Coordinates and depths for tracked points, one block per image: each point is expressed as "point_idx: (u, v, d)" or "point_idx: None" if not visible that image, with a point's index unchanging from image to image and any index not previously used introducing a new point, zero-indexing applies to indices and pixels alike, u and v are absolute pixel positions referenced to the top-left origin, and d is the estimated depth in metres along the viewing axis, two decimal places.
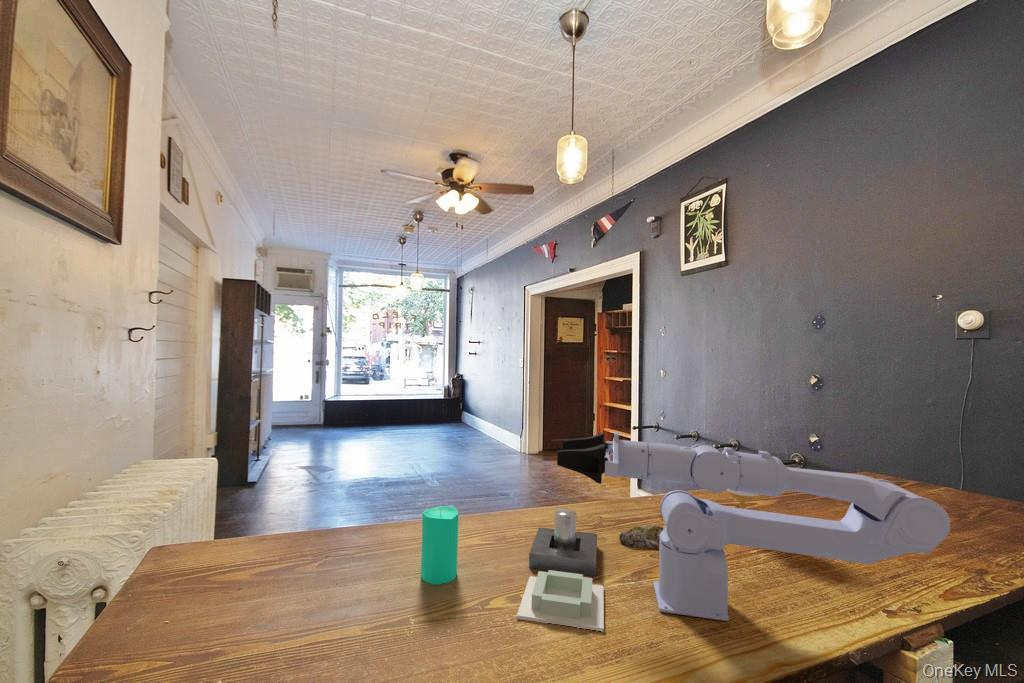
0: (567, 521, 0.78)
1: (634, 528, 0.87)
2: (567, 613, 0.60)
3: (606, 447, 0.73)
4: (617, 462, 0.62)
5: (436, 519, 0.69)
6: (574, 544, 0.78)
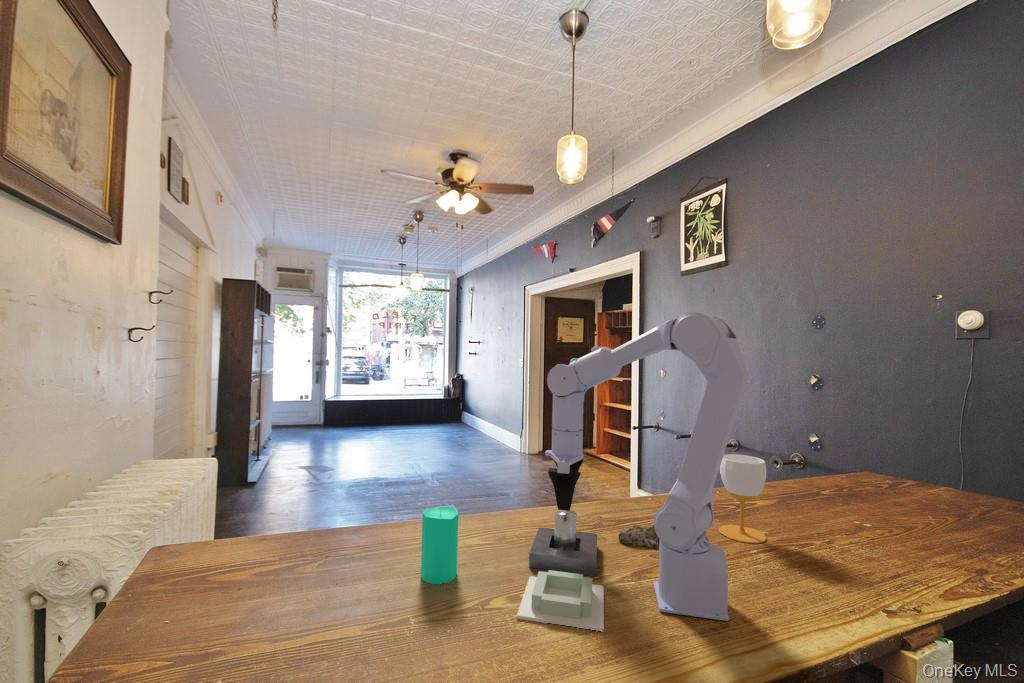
0: (567, 521, 0.78)
1: (633, 527, 0.88)
2: (567, 613, 0.60)
3: None
4: (557, 461, 0.74)
5: (436, 519, 0.69)
6: (574, 544, 0.78)
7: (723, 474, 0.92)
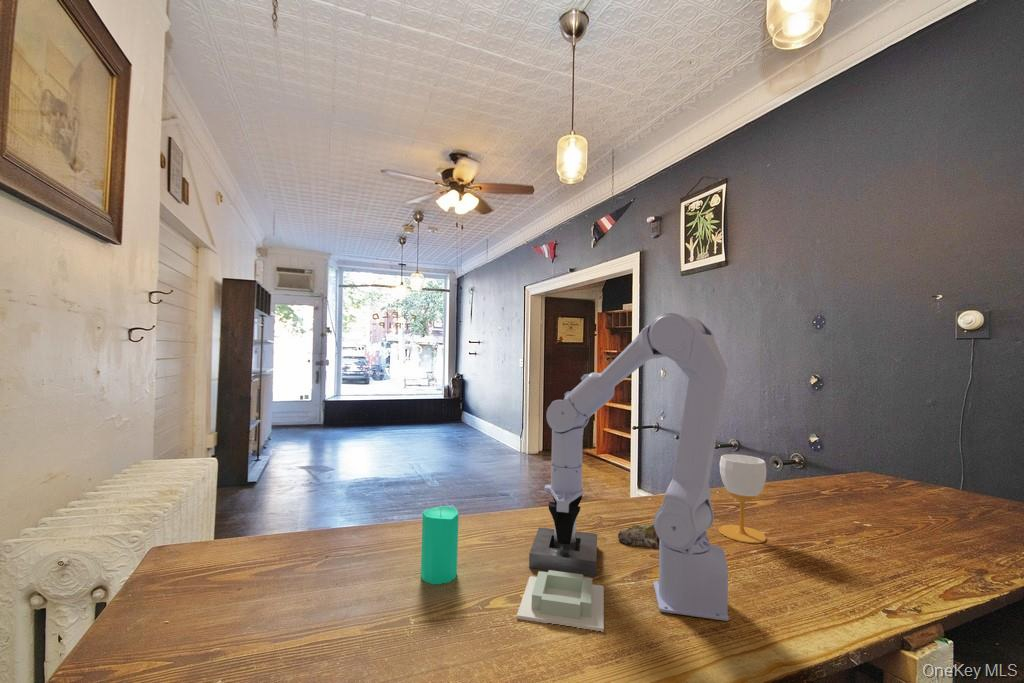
0: None
1: (633, 527, 0.88)
2: (567, 613, 0.60)
3: None
4: (557, 500, 0.73)
5: (436, 519, 0.69)
6: (574, 544, 0.78)
7: (723, 474, 0.92)
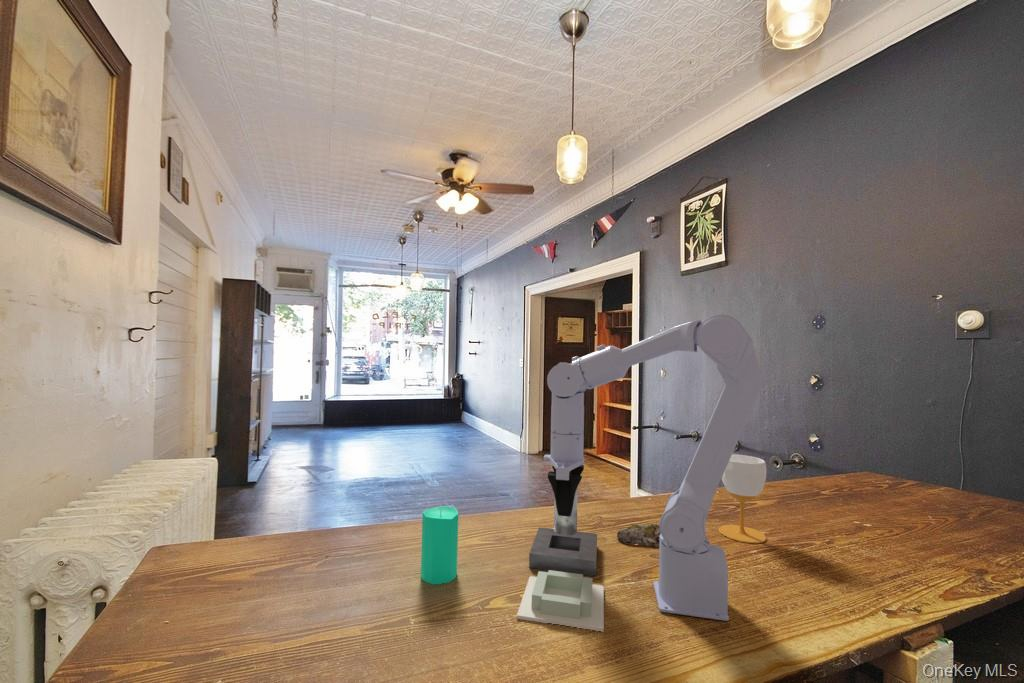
0: None
1: (632, 526, 0.88)
2: (567, 613, 0.60)
3: None
4: (556, 467, 0.68)
5: (436, 519, 0.69)
6: (575, 516, 0.73)
7: (723, 474, 0.92)
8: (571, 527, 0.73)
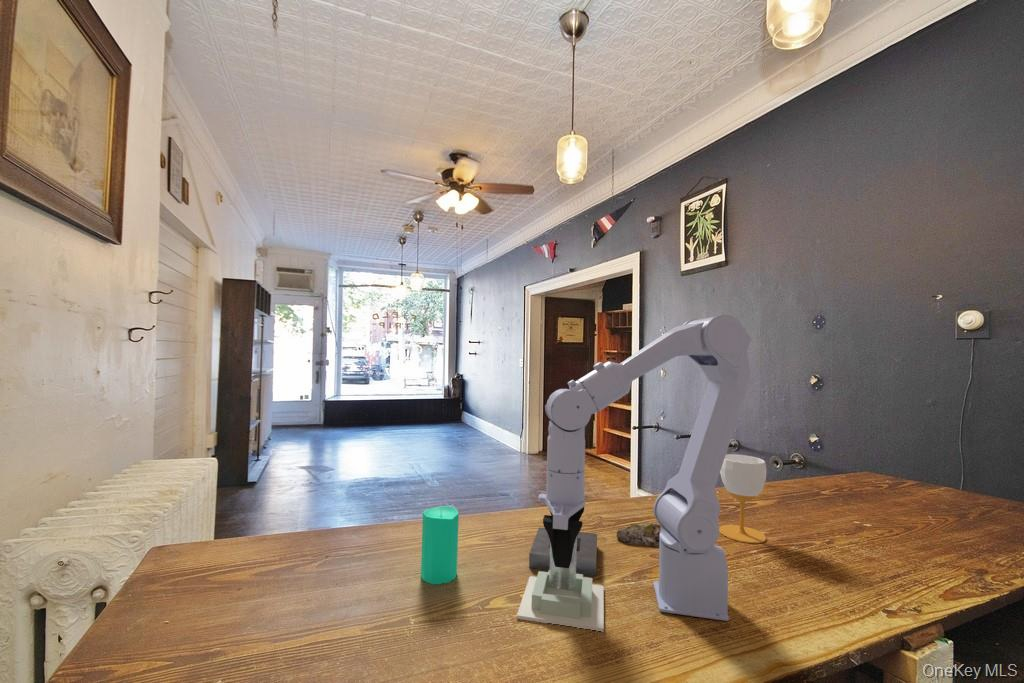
0: None
1: (631, 525, 0.88)
2: (567, 613, 0.60)
3: None
4: (553, 514, 0.59)
5: (436, 519, 0.69)
6: (574, 567, 0.64)
7: (723, 474, 0.92)
8: (570, 579, 0.63)
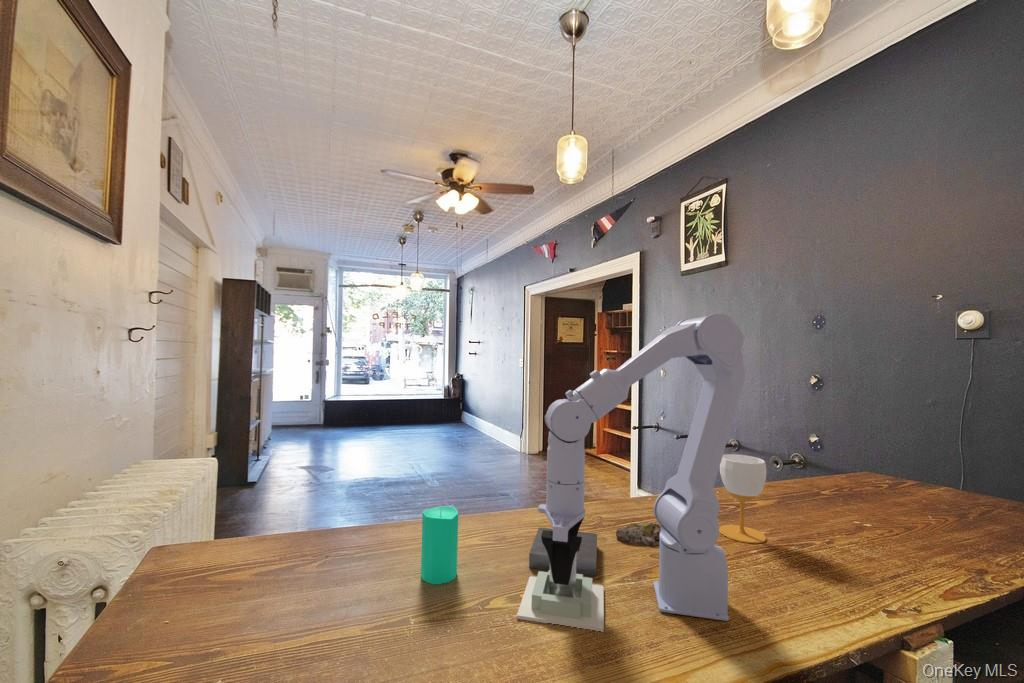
0: None
1: (631, 525, 0.89)
2: (567, 613, 0.60)
3: None
4: (553, 526, 0.59)
5: (436, 519, 0.69)
6: (574, 584, 0.64)
7: (723, 474, 0.92)
8: None
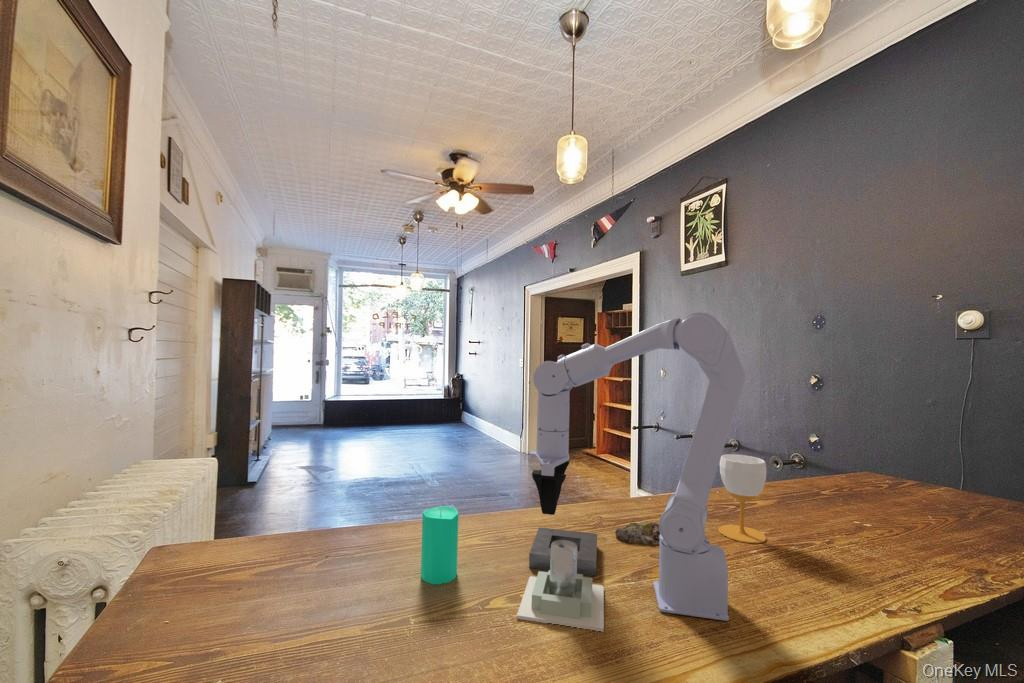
0: (566, 557, 0.63)
1: (630, 524, 0.89)
2: (567, 613, 0.60)
3: None
4: (541, 463, 0.70)
5: (436, 519, 0.69)
6: (574, 585, 0.64)
7: (723, 474, 0.92)
8: None
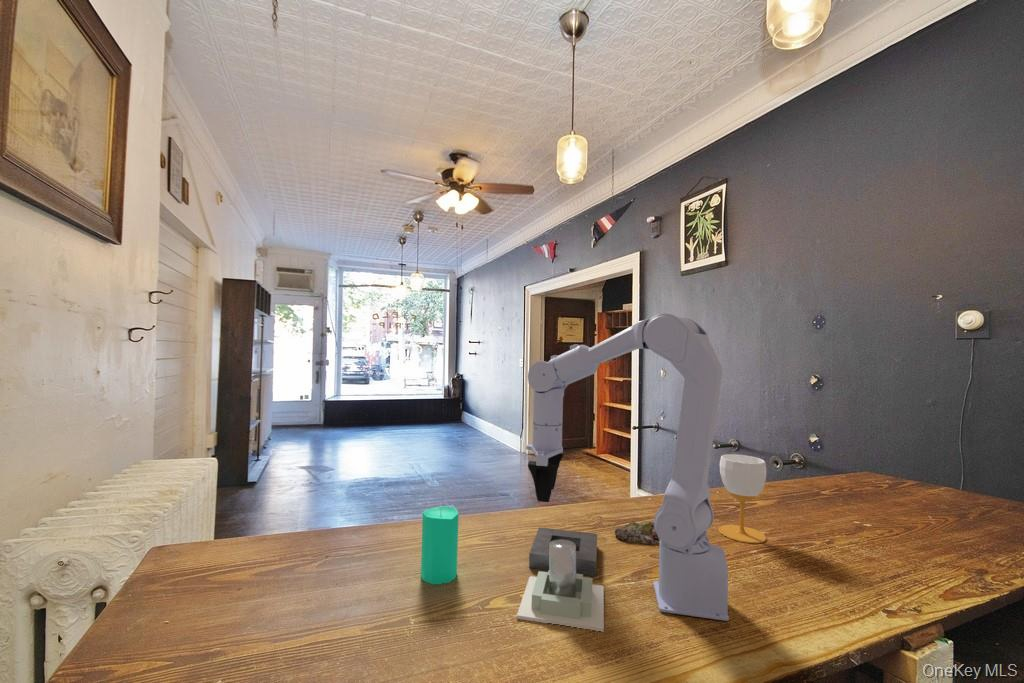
0: (565, 556, 0.63)
1: (629, 524, 0.89)
2: (567, 613, 0.60)
3: None
4: (536, 454, 0.76)
5: (436, 519, 0.69)
6: (574, 584, 0.64)
7: (723, 474, 0.92)
8: (570, 596, 0.63)
